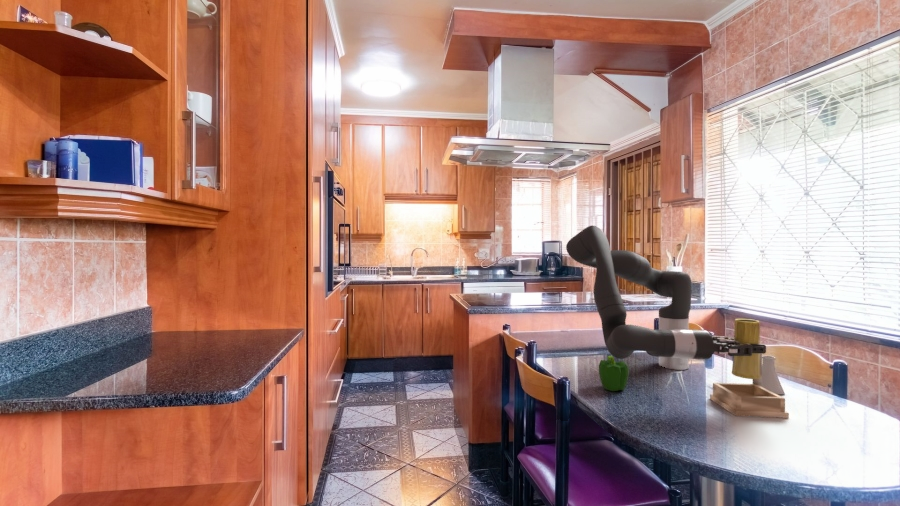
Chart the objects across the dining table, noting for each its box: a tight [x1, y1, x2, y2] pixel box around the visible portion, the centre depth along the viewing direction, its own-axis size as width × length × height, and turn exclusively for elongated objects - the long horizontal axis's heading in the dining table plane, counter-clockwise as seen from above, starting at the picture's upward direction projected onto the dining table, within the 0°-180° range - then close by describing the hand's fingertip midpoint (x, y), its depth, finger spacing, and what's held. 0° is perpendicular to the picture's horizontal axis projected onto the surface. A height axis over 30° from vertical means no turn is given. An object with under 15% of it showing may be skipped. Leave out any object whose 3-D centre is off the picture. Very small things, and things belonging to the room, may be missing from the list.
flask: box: [762, 354, 786, 396], centre depth 119 cm, size 7×7×10 cm
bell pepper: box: [598, 355, 630, 392], centre depth 121 cm, size 8×8×10 cm
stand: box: [709, 353, 790, 419], centre depth 106 cm, size 12×13×13 cm
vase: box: [731, 318, 761, 380], centre depth 106 cm, size 6×6×14 cm
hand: (756, 346), depth 106 cm, fingers closed on vase, 5 cm apart
